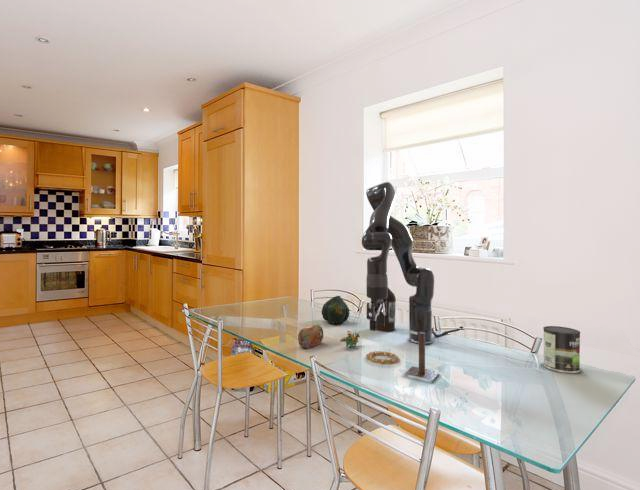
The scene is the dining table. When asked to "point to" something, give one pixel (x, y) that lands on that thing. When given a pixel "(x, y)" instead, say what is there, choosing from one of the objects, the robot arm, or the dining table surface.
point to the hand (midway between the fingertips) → (377, 327)
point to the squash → (335, 310)
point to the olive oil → (388, 314)
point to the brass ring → (382, 361)
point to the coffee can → (562, 349)
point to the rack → (422, 362)
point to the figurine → (351, 339)
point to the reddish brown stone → (310, 336)
